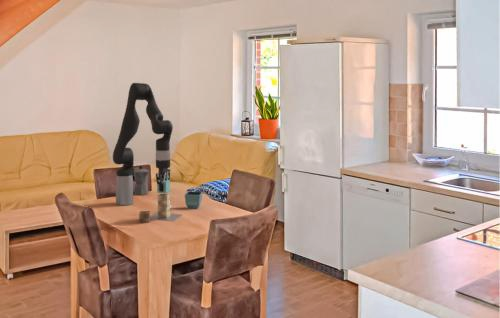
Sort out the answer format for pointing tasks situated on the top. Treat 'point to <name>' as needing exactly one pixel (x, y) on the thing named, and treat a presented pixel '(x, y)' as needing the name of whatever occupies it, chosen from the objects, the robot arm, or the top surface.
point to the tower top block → (163, 200)
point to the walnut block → (144, 217)
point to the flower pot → (193, 199)
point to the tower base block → (164, 212)
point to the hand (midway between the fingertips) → (163, 190)
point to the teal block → (166, 187)
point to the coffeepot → (140, 181)
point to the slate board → (171, 218)
